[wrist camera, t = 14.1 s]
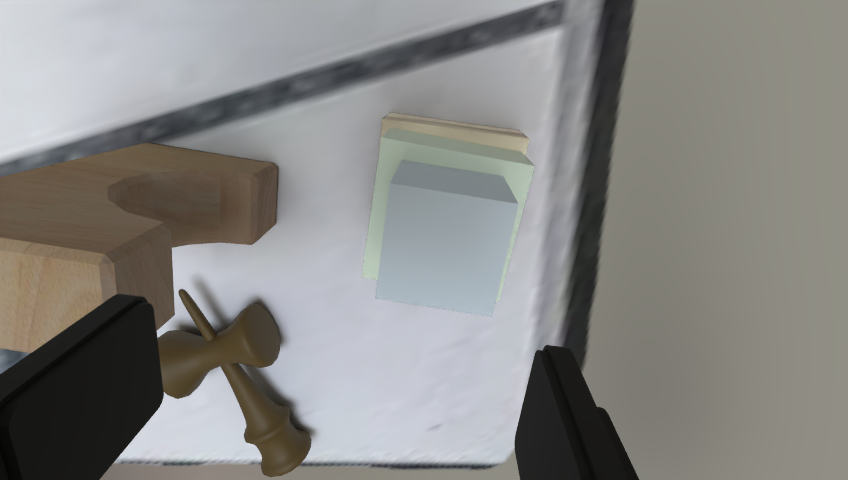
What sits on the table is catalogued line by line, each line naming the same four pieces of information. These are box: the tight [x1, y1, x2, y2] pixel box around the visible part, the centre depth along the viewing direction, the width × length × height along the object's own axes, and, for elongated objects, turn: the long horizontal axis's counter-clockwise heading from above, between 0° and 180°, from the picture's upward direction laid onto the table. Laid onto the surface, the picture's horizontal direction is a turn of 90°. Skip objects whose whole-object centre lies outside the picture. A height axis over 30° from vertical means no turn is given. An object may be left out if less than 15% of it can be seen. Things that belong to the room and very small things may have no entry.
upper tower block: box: [361, 127, 535, 302], centre depth 30 cm, size 9×9×5 cm
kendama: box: [157, 289, 311, 477], centre depth 41 cm, size 6×10×20 cm
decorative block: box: [0, 143, 278, 353], centre depth 28 cm, size 11×6×20 cm, turn 80°
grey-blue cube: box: [375, 160, 519, 317], centre depth 25 cm, size 6×6×6 cm
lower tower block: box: [379, 113, 529, 156], centre depth 35 cm, size 10×10×5 cm
